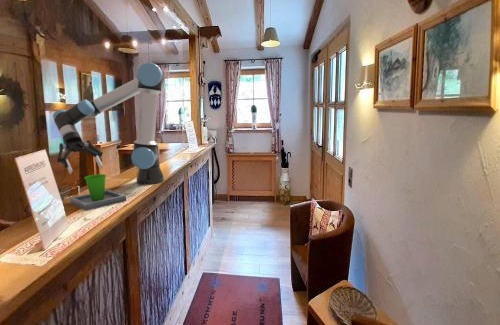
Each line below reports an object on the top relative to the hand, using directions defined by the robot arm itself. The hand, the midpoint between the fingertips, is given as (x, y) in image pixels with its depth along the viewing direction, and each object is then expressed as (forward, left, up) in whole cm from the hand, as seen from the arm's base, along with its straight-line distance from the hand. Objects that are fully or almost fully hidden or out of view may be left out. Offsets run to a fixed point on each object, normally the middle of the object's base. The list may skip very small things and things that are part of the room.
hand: (87, 169), depth 150 cm
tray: (0, +8, -14) cm, 16 cm away
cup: (0, +8, -13) cm, 16 cm away
